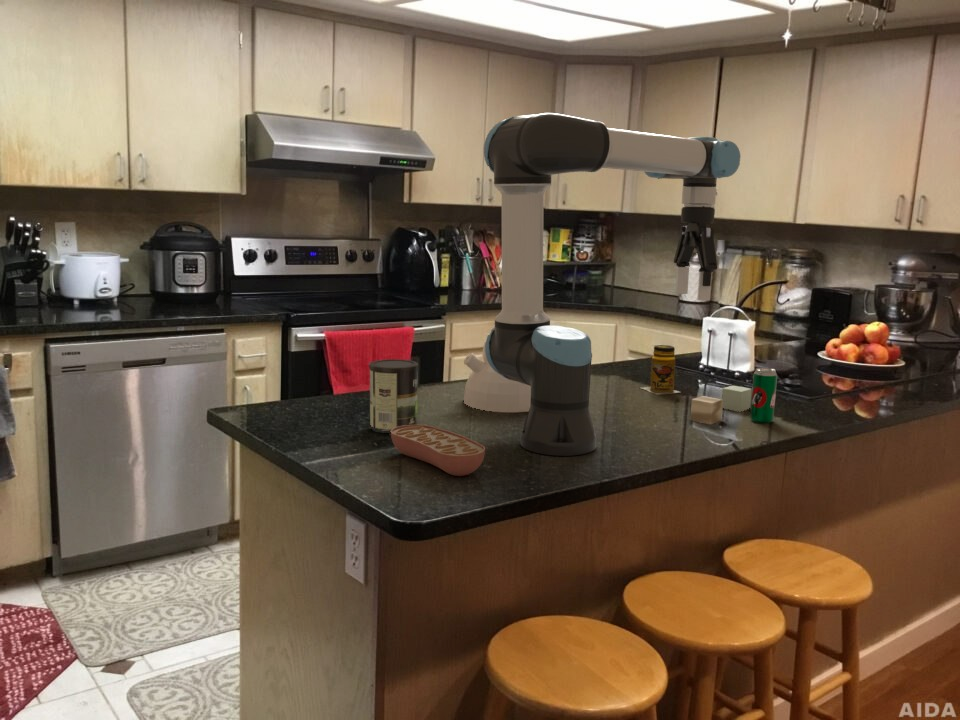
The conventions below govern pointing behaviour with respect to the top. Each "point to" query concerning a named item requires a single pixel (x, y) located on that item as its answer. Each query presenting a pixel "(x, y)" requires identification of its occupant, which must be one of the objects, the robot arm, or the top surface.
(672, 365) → the condiment
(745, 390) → the sage block
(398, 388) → the coffee can
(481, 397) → the kettle
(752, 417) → the soda can
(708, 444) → the top surface
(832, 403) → the top surface
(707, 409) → the maple block
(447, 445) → the anatomical model
